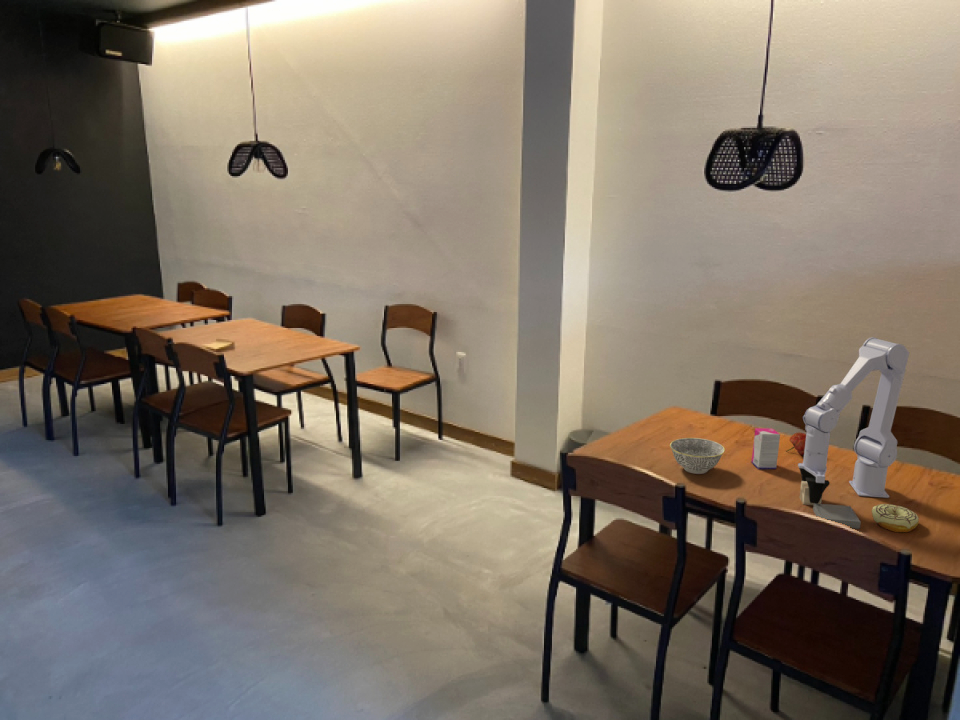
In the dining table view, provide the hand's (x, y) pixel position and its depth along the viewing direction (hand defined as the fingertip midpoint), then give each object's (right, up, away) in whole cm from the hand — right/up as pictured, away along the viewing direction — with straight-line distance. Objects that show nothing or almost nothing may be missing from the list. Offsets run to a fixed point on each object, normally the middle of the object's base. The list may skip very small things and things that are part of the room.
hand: (810, 496), depth 195 cm
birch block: (0, -1, 0) cm, 2 cm away
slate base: (+2, -4, -10) cm, 11 cm away
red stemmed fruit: (+12, +7, +35) cm, 37 cm away
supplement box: (-3, +5, +25) cm, 25 cm away
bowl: (-25, +4, +22) cm, 34 cm away
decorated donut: (+16, -5, -12) cm, 20 cm away
